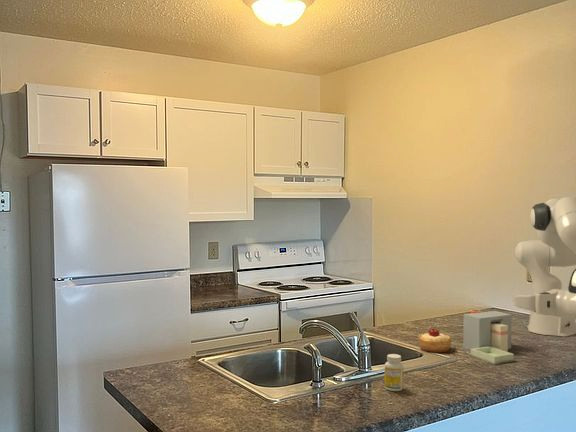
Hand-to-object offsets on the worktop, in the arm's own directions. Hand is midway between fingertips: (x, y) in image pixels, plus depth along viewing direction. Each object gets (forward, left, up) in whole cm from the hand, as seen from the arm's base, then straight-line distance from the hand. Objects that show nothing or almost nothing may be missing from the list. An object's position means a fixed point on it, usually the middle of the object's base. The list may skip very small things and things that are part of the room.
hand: (524, 297), depth 186 cm
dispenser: (-1, -17, -22) cm, 28 cm away
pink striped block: (-1, -12, -22) cm, 25 cm away
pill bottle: (-8, -30, -22) cm, 38 cm away
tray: (+8, -6, -22) cm, 24 cm away
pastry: (+18, -24, -22) cm, 38 cm away
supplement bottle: (+58, +5, -22) cm, 63 cm away
